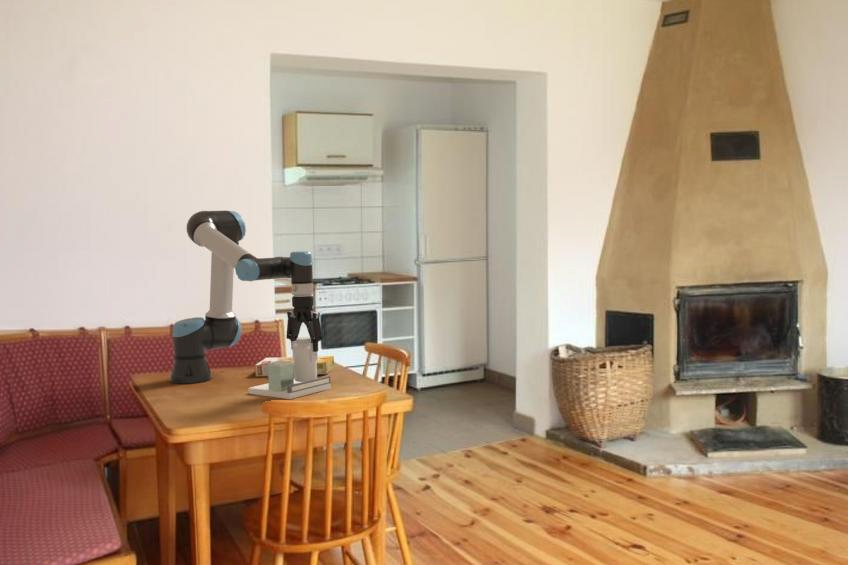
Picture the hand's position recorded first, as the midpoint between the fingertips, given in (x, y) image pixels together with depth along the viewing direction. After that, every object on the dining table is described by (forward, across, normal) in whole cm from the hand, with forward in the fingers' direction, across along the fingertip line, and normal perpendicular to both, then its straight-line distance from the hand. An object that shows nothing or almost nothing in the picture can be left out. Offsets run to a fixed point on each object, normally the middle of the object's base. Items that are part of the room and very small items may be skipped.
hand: (305, 359), depth 290 cm
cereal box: (+11, -30, +25) cm, 40 cm away
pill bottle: (+7, 0, 0) cm, 7 cm away
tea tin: (+8, -1, -11) cm, 14 cm away
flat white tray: (+10, -3, -5) cm, 12 cm away
